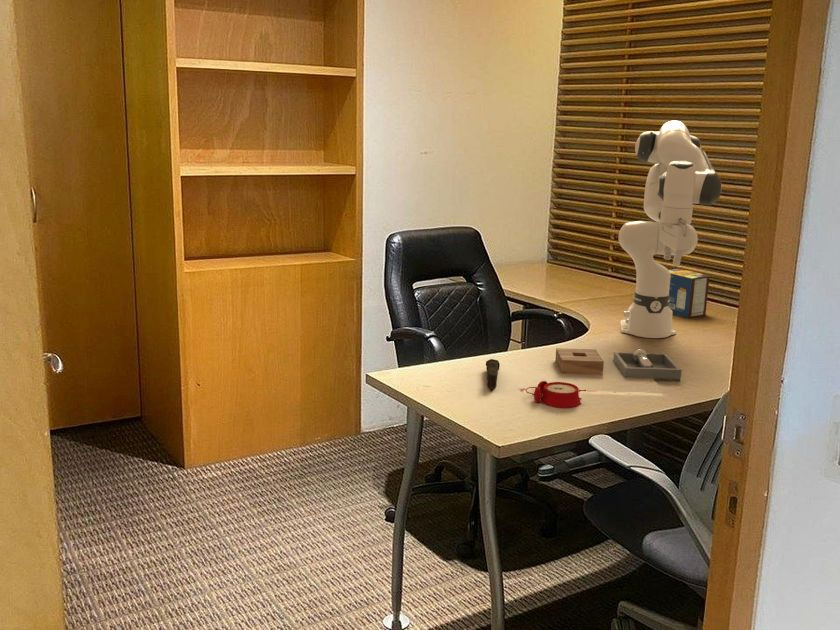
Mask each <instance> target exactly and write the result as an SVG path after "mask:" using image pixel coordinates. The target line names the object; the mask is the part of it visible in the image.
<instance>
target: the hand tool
mask: <svg viewBox="0 0 840 630" xmlns="http://www.w3.org/2000/svg"><path fill="white" fill-rule="evenodd" d="M485 366H486V369H485V370H486V373H487V377H486V378H487V382H486V383H487V388H488V389H489V391H490V392H494V391H495V390H496V388H497V384H498V383H497V382H498V371H500V361H499V360H497V359H494V358H490V359H487V360H486V361H485Z"/></svg>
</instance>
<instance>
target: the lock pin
mask: <svg viewBox="0 0 840 630" xmlns="http://www.w3.org/2000/svg"><path fill="white" fill-rule="evenodd" d="M632 353H633V360H634V361H635V362H636V363H638V364H640V366H641V367H642V368H653V365H652V363H651V362H650V361H649V359H648V354H647V353H648V352H647V351H646V350H645V349H642V348H639V349H636V350H635V351H634V352H632Z"/></svg>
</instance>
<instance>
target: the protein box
mask: <svg viewBox="0 0 840 630" xmlns="http://www.w3.org/2000/svg"><path fill="white" fill-rule="evenodd" d="M668 270H669V272H670V275H671V278H670V288H669V295H670V302H669V306H668V307H669V308H670V309H671V310H672V315H676V316H679V317H684V318H689V319H690V318H694V317H700V316H706V313H707V304H708V294H709V287H710V285H709V284H710V277H711V275H709V274H705V273H700V272H695V271H691V270H685V269H681V268H674V269H668Z"/></svg>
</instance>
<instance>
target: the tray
mask: <svg viewBox="0 0 840 630" xmlns="http://www.w3.org/2000/svg"><path fill="white" fill-rule="evenodd" d="M633 353H634V352H627V351H625V352H622V351H620V352H619V351H613V356H612V357H613V359H612V361H613V363H614V364H615V366H616V367H617V368H618V370H619V371H620V372H621V374H622V375H623V378H629V379H630V378H633V379H636V378H637V379H640V378H641V379H653V380H654V381H656V382H681V378H682V377H681V376H682V371H683V370H682V369H681V368H680V367H679V365H678V364H677V363H676V362H675V361H674V360H673V359H672V358H671V357H670V356H669V354H667V353H664V352H663V353H655V352H646V353H647V354H648V359H649V361H650V362H651V363H652V365H653V368H642V367H641V366H640V364H638V363H636V362H635V361H634V360H633Z"/></svg>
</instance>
